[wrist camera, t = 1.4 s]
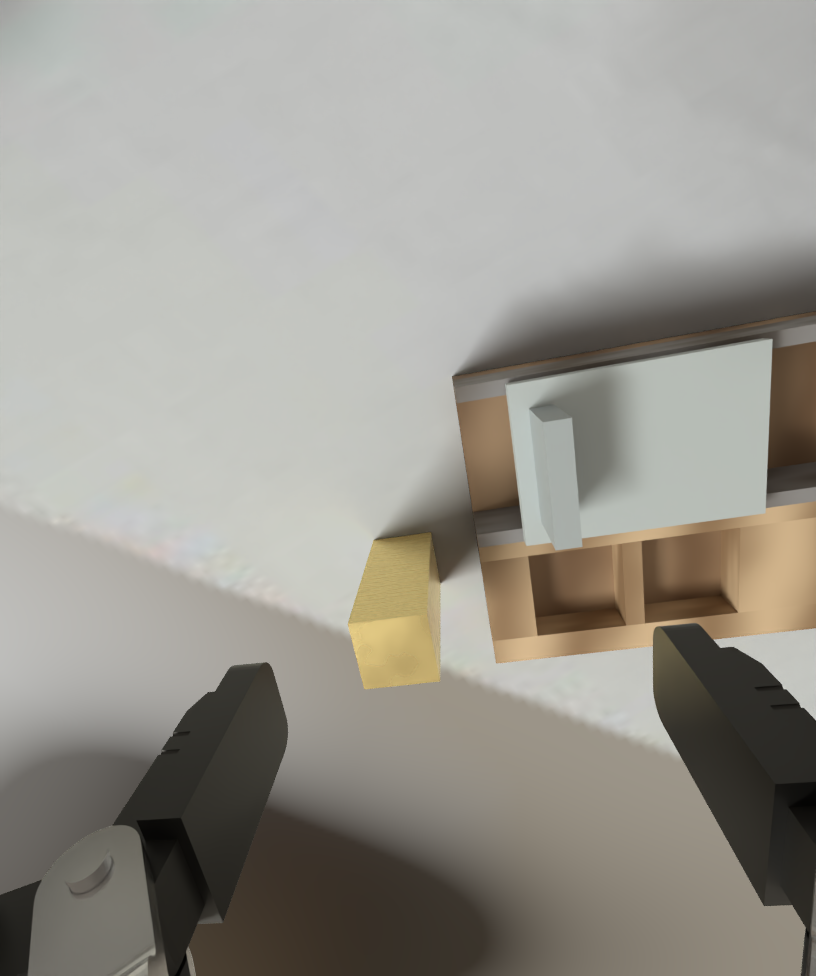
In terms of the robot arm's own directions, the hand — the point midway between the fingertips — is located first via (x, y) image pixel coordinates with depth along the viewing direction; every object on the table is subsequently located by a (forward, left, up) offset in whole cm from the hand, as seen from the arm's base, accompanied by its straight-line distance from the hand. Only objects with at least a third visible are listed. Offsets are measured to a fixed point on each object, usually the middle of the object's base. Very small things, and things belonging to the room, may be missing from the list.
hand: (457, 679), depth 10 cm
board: (-15, +5, -22) cm, 27 cm away
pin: (+4, +8, -22) cm, 24 cm away
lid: (-10, +1, -17) cm, 19 cm away
